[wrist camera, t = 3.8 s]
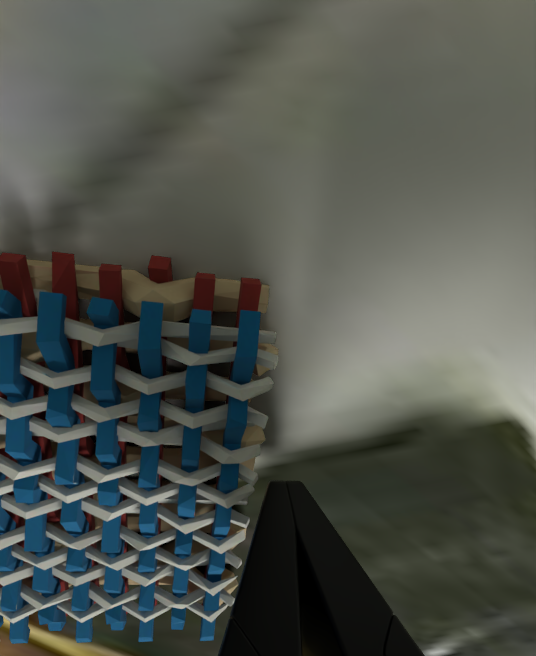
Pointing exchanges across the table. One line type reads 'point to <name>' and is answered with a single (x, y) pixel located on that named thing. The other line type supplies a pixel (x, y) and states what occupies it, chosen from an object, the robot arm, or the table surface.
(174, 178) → the table surface
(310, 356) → the table surface
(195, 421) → the woven mat
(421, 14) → the table surface
